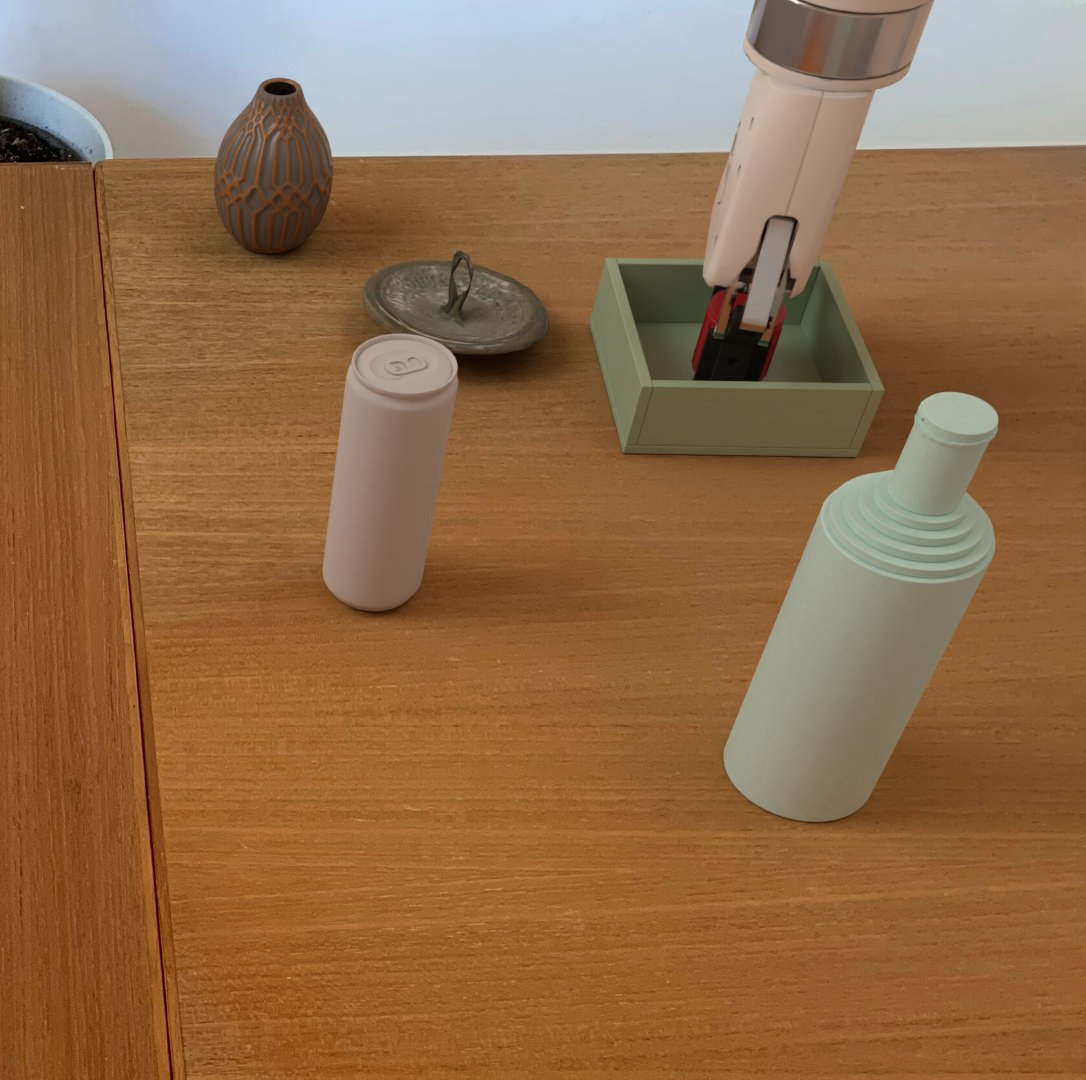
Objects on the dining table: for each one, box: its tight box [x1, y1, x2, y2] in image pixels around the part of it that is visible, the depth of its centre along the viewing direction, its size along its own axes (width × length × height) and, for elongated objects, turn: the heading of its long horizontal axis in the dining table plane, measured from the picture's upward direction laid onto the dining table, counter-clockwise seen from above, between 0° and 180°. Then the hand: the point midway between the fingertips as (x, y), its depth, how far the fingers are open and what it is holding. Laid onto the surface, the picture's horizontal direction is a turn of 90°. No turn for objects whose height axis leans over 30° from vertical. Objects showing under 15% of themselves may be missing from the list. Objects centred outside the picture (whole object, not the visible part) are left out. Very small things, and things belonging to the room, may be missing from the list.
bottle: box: [722, 391, 999, 823], centre depth 67 cm, size 6×6×18 cm
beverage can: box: [321, 333, 459, 612], centre depth 77 cm, size 5×5×12 cm
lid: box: [361, 249, 551, 356], centre depth 94 cm, size 11×10×5 cm
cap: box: [692, 290, 786, 382], centre depth 90 cm, size 4×4×4 cm
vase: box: [213, 77, 334, 254], centre depth 98 cm, size 7×7×9 cm
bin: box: [589, 257, 886, 458], centre depth 90 cm, size 12×12×4 cm
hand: (722, 376), depth 91 cm, fingers closed on cap, 3 cm apart
